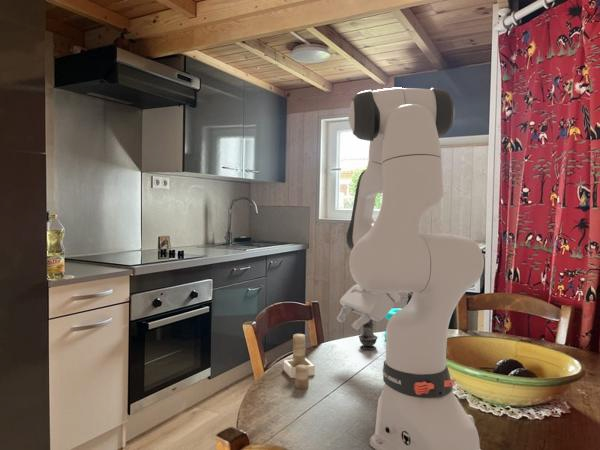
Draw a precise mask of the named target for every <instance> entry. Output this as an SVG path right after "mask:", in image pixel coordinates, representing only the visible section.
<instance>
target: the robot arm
mask: <svg viewBox="0 0 600 450" xmlns="http://www.w3.org/2000/svg"><path fill="white" fill-rule="evenodd" d="M454 119H455V106H454V99H453V97H452V95H451V94H450V93H449V91H448V90H445V89H442V88H436V87H431V88H430V89H428V88H419V87H418V88H416V87H415V88H413V87H411V88H410V87H407V88H406V87H405V88H404V87H403V88H402V87H391V88H383V89H377V90H373V91H372V89H368V90H364V91H360V92H358V93H356V94H355V95H354V96H353V98H352V101H351V103H350V106H349V109H348V123H349V126H350V128H351V131H352V135H354V136H355V137H356V138H358V140H364V141H369V146H368V147H369V150H368V163H367V167H366V169H364V170H362V171H361V173H360V175H359V176H358V180H357V183H356V187H355V194H354V199H353V205H352V213H351V217H350V218H351V219H350V222H349V225H348V228H347V231H346V235H345V236H346V239H345V240H346V243H347V247H348V249H349V250H350V254H349V258H348V259H349V262H348V264H349V271H350V275H351V276H352V279H353V281H354V282H355V283H356V284H354V285H352V286H351V287H350V288H349V290H347V291H346V293H344V294H343V295H342V296H341V298H340V300H339V303H340V305H342V308H341V309H340V312H339V314H338V316H336V320H337V321H338V322H339V323H344V322H345V321H346V319H347V318H346V317H347V315H348V314H350V313H351V312H353V313H355V314H358V315H360V317H358V319H355V320H354V321H353V322H352V323H351V327H352V328H353V329H354V330H356V331H359V330H360V329H361V327H363V325H364V324H366V323H367V322H369V320H370V319H372V320H373V322H380V321H382V320H383V319H384V318H385V316H386V315H387V314H388V313H389V311H390V310H391V309H394V306H395V304H398V303H399V302H400V300H401V298H402V297H401V296H400V294H401V293H412V295H411V298H410V300H409V301H408V302H407V304H406V305H405V306H403V308H401V310H400V311H398V312H396V313H395V314H394V315H393V316H392V317H391V318H390V319H389V320H387V321H388V322H387V324H386V327H385V328H386V329H385V330H386V331H385V332H386V339H385V360H384V361H383V367H382V375H383V377H382V378H383V379H382V381H383V383H384V386H383V388H382V391H381V393H380V395H379V397H378V400H377V408H376V417H375V418H376V420H375V430H374V433H373V434H372V435H371V436H370V438H369V446H370V447H372V448H373V449H374V450H482V449H481V446H480V437H479V432H478V429H477V426H476V424H475V423H476V422H475V419H474V416H473V415H471V414H467V412H466V410H465V409H464V407H463V406H462V404H461V403H460V402H459V400H458V398H457V397H456V396H455V394H454V393H453V389H454V388H453V386H454V387H455V386H456V384H455V383H454V382H456V381H457V380H456V379H455V378H454V379H451V373H450V372H449V368H448V366H447V345H448V343H447V342H448V331H449V326H450V322H451V318H452V315H453V313H454V311H455V309H456V307H457V305H458V303H459V301H461V298H462V297H463V296H464V294H465V293H467V291H469V290H470V289H471V288H472V287H473V286H474V285H476V284H477V283H478V282H479V280H480V279H481V277H482V276H483V275H482V274H483V272H484V268H485V262H484V261H485V260H484V255H483V252H482V249H481V248H480V246H479V244H478V243H477V242H476V241H475V239H472V238H471V237H467V236H463V235H459V234H454V233H453V234H452V233H448V232H447V233H444V232H441V233H418V231H419V230H418V228H419V223H420V221H421V218H422V217H423V216H425V215H426V214H429V213H430V212H432V211H433V210H434V209H436V208H437V207H438V206H439V205H440V203H441V201H442V199H443V197H444V186H443V170H442V169H443V167H442V153H441V145H440V144H441V143H440V138H442V137H444V136H445V135H447V133H449V132H450V131H451V130H452V129H451V128H452V127H453V122H454ZM378 194H382V200H381V205H380V210H379V212H378V216H377V218H376V219H374V218H373V214H374V207H375V203H376V198H377V195H378Z"/></svg>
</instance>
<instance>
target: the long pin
mask: <svg viewBox="0 0 600 450" xmlns="http://www.w3.org/2000/svg"><path fill="white" fill-rule="evenodd" d="M305 358H306V335H305V334H303V333H295V334H293V335H292V359H293V367H296V366H297V365H305Z"/></svg>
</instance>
